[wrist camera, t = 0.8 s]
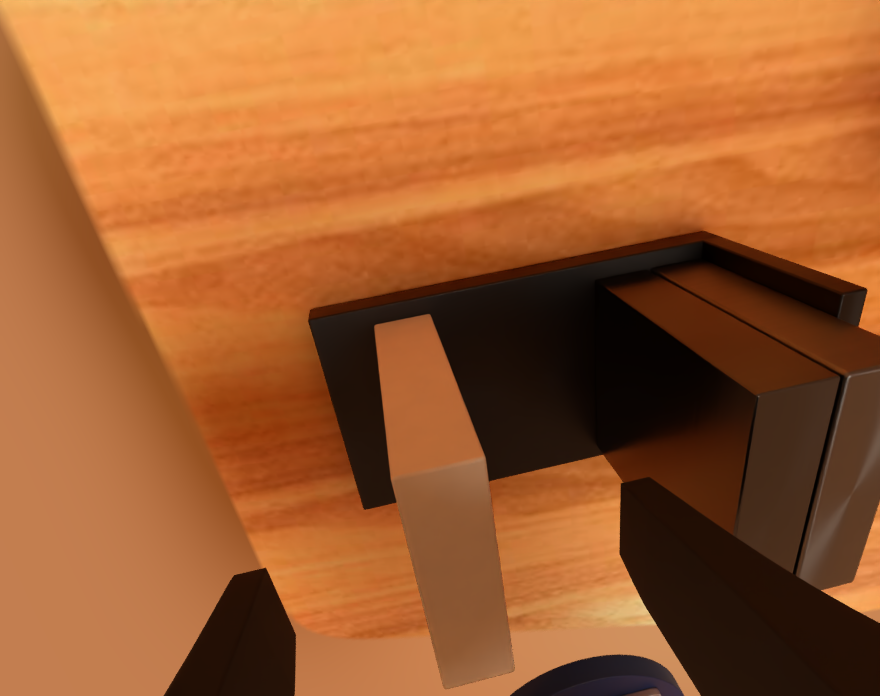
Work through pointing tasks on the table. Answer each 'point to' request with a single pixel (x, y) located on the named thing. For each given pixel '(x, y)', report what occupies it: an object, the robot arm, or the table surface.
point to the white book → (443, 503)
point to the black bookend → (652, 385)
